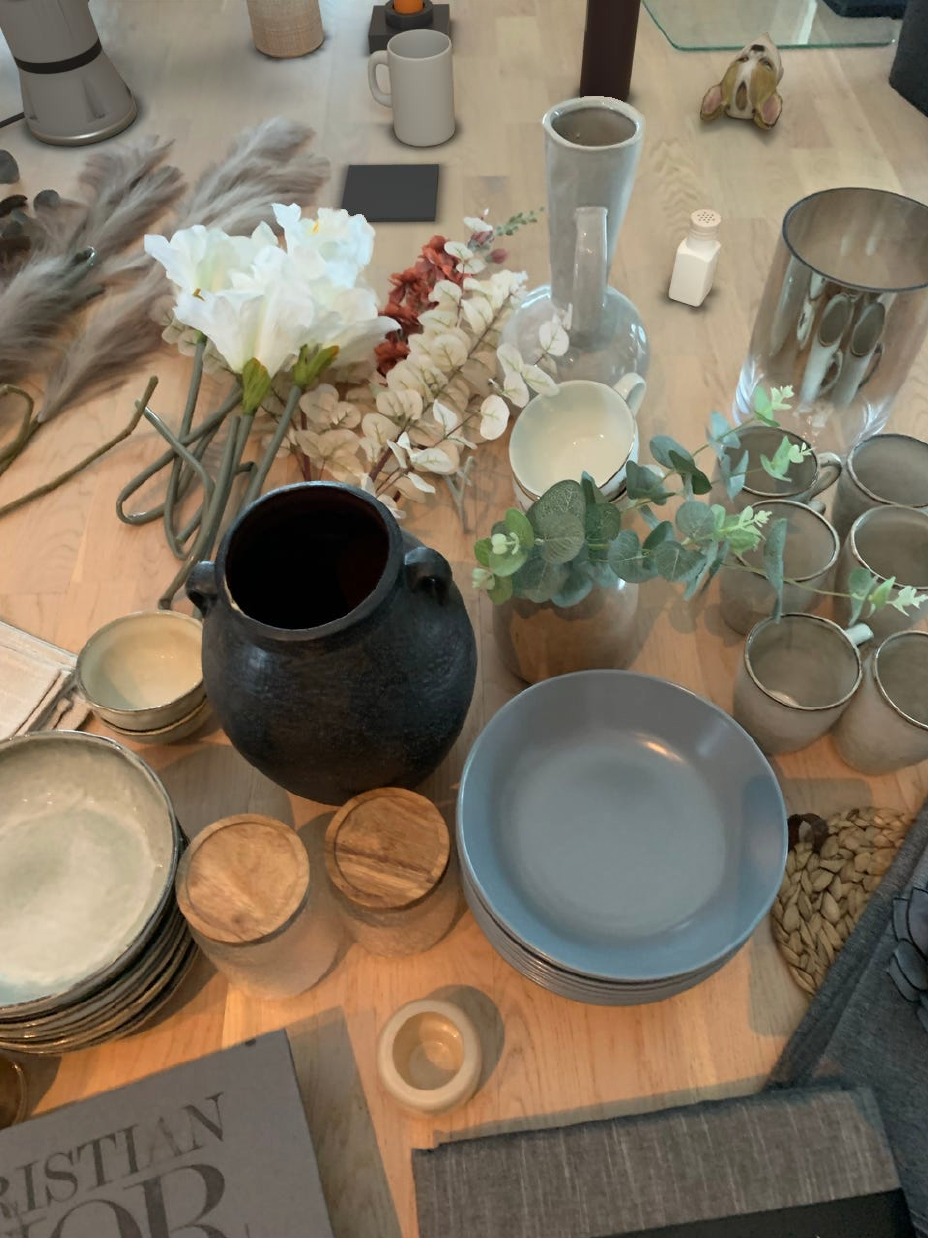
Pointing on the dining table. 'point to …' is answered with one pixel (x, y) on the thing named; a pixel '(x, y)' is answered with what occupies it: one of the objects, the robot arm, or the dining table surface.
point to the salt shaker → (696, 259)
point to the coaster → (392, 192)
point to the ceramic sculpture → (749, 86)
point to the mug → (418, 86)
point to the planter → (286, 26)
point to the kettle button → (408, 6)
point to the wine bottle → (609, 47)
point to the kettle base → (405, 22)
